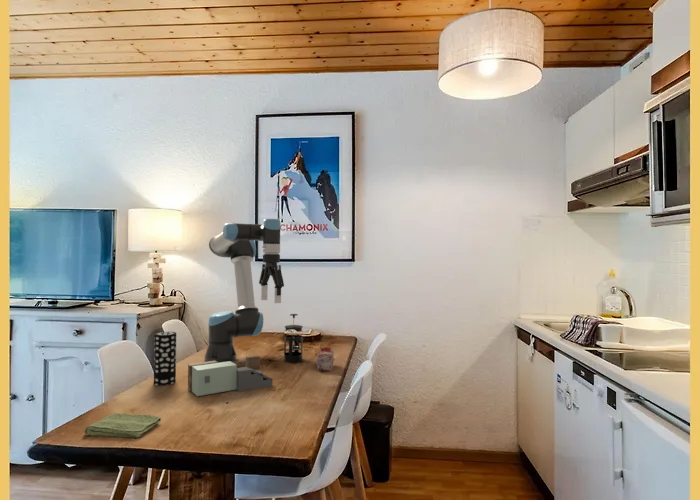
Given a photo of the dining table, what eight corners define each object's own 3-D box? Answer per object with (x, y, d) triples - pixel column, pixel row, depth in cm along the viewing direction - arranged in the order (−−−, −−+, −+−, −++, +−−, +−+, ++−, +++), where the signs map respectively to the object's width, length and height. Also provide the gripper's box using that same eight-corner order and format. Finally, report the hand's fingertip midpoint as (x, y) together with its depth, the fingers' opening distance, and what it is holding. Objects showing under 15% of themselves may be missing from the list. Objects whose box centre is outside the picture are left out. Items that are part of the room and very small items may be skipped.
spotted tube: (180, 381, 184) (180, 332, 184) (164, 386, 177) (164, 336, 177) (165, 378, 188) (166, 331, 188) (148, 383, 180) (149, 334, 180)
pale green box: (191, 391, 170) (192, 366, 170) (229, 384, 179) (230, 361, 179) (198, 396, 164) (198, 370, 164) (237, 389, 173) (237, 365, 173)
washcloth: (140, 440, 128) (140, 429, 128) (81, 437, 129) (81, 426, 129) (163, 423, 141) (163, 413, 141) (109, 420, 142) (110, 410, 142)
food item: (333, 372, 201) (334, 350, 201) (316, 372, 201) (316, 350, 201) (333, 364, 215) (333, 344, 215) (317, 364, 214) (317, 344, 214)
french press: (299, 363, 216) (299, 315, 216) (280, 362, 217) (281, 315, 217) (306, 357, 227) (306, 312, 227) (288, 356, 229) (288, 312, 229)
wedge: (234, 388, 176) (234, 368, 176) (267, 383, 184) (267, 363, 184) (238, 392, 172) (238, 371, 172) (272, 386, 180) (272, 366, 180)
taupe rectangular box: (187, 390, 173) (188, 364, 173) (256, 378, 189) (256, 354, 189) (190, 392, 170) (190, 365, 170) (259, 380, 187) (259, 356, 187)
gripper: (252, 253, 207) (251, 299, 207) (276, 254, 186) (275, 304, 186) (267, 253, 211) (266, 298, 211) (292, 254, 191) (291, 303, 191)
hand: (270, 301), depth 199 cm, fingers open, 13 cm apart
